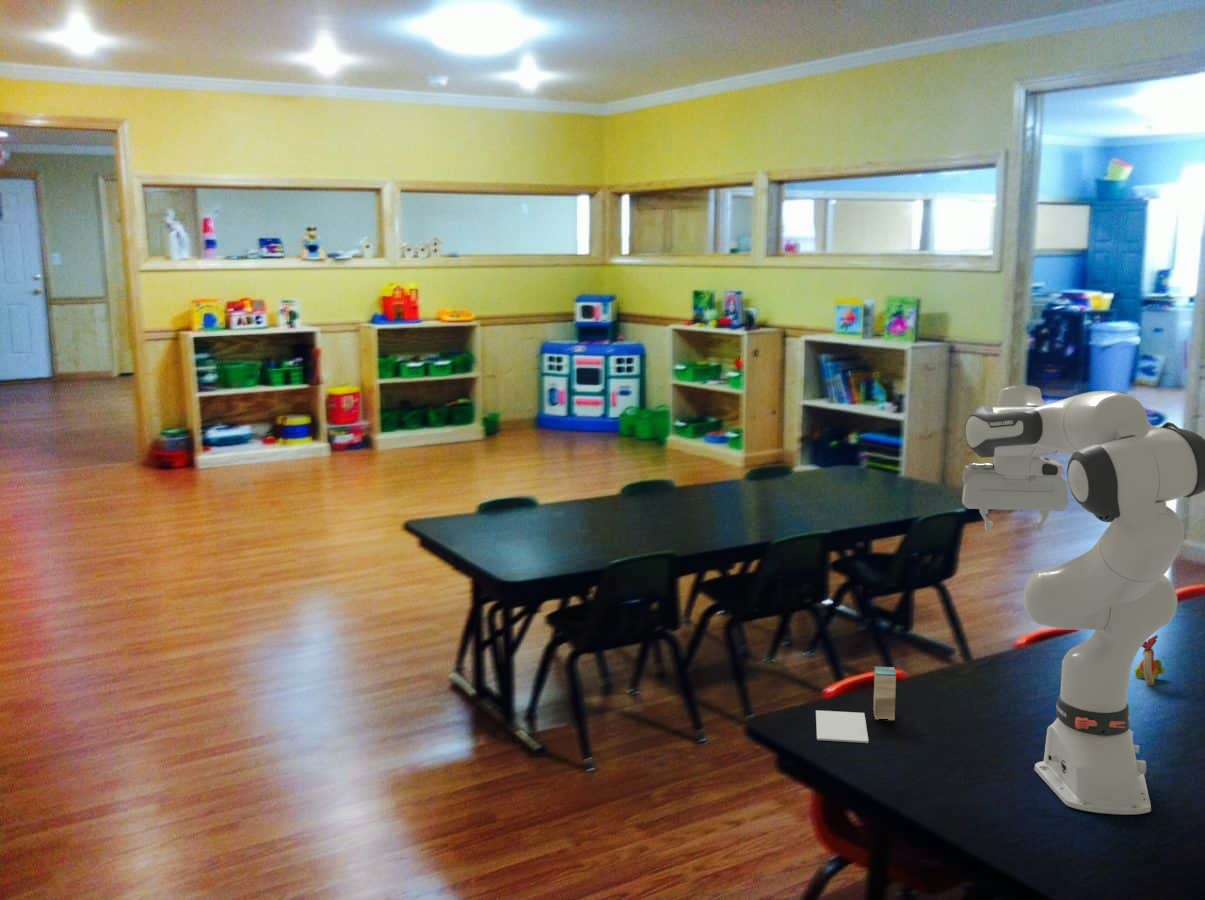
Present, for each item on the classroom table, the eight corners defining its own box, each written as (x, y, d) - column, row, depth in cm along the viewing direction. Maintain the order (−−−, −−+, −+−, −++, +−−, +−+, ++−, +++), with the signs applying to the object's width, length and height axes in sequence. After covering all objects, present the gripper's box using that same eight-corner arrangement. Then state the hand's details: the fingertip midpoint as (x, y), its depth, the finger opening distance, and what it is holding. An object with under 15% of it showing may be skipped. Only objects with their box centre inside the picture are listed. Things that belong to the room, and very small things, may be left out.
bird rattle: (1164, 696, 242) (1165, 668, 248) (1168, 659, 236) (1168, 631, 243) (1133, 692, 244) (1134, 664, 251) (1135, 655, 239) (1136, 627, 246)
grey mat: (868, 743, 216) (868, 741, 216) (816, 740, 217) (816, 738, 217) (864, 714, 229) (864, 712, 229) (815, 712, 231) (815, 710, 231)
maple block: (894, 720, 226) (895, 674, 225) (874, 719, 227) (875, 673, 225) (892, 712, 230) (894, 667, 228) (873, 711, 231) (874, 666, 229)
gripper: (964, 465, 221) (961, 532, 223) (1072, 467, 217) (1068, 535, 219) (960, 460, 227) (958, 525, 229) (1065, 462, 223) (1061, 528, 225)
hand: (1012, 530), depth 224 cm, fingers open, 8 cm apart
